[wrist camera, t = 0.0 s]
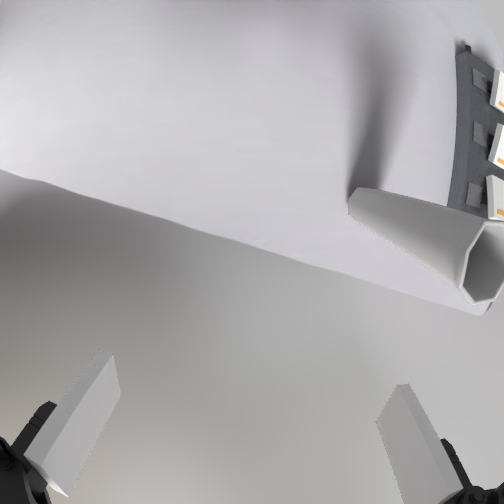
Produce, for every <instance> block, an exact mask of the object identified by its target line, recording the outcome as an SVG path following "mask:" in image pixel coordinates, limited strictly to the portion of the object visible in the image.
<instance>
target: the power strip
mask: <svg viewBox="0 0 504 504" xmlns="http://www.w3.org/2000/svg"><path fill="white" fill-rule="evenodd" d="M455 59H456V74H457V127H456V143H455V154H454V164H453V172H452V180H451V186H450V193H449V199H448V204H447V207H449V208H452V209H456V210H459V211H462V212H466V213H469V214H472V215H475V216H478V217H481V218H484V219H489V218H488V196H487V181H486V176H489V175H494V176H496V177H498V178H500V179H502V180H503V181H504V169H502V168H501V167H499V166H497V165H495V164H493V163H492V162H490V161H488V158H489V155H490V151H491V148H492V144H493V140H494V136H495V132H496V128H497V123H499V124H502V125H504V113H502V112H501V111H499V110H498V109H496V108H495V107H493V106H492V105H490V98H491V92H492V86H493V79H494V71H495V69H493V68H492V67H490V66H489V65H487V64H486V63H485V62H483V61H482V60H480V59H479V58H477V57H476V56H474V55H472V53H471V47H470V46H469V45H465V52H463V53H461V54H459V55H457V56H455Z"/></svg>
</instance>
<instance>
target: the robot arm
mask: <svg viewBox="0 0 504 504" xmlns="http://www.w3.org/2000/svg"><path fill="white" fill-rule="evenodd" d="M120 397H121V392H120V387H119V383H118V378H117V373H116V367H115V362H114V356H113V354H111V353H108V352H104V351H101V350H98V352H97V353H96V354H95V356H94V357H93V358H92V359H91V361H90V362H89V363H88V365H87V366H86V367H85V368H84V370H83V371H82V372H81V374H80V375H79V376H78V378H77V379H76V380H75V382H74V383H73V384H72V386H71V387H70V388H69V390H68V391H67V392H66V394H65V395H64V397H63V398H62V399H61V401H60V402H59V403H58V405H57V404H54V403H52V402H50V401H48V402H46V403H45V404H43V405H42V406H40V407H39V408H38V410H37V411H36V412H35V414H34V416H33V417H32V418H31V419H30V420H29V423H28V424H26V426H25V427H24V429H23V430H22V432H21V433H20V434H19V436H18V437H17V439H16V440H15V441H14V443H13V444H12V445H11V447H10V446H9V444H8V443H7V442H6V441H5V439H3V438H2V437H0V504H51V501H50V498H49V495H48V492H47V490H46V486H47V484H49V485H50V486H51V487H52V488H53V489H54V490H56V491H58V492H59V493H62V494H63V495H65V496H67V497H70V495H71V493H72V491H73V489H74V487H75V485H76V482H77V480H78V478H79V476H80V474H81V472H82V470H83V468H84V466H85V464H86V462H87V460H88V458H89V456H90V454H91V452H92V450H93V448H94V446H95V444H96V442H97V440H98V438H99V436H100V434H101V432H102V430H103V428H104V426H105V424H106V423H107V421H108V419H109V417H110V415H111V413H112V411H113V410H114V408H115V406H116V404H117V402H118V400H119V398H120ZM376 424H377V427H378V429H379V432H380V435H381V437H382V440H383V443H384V446H385V449H386V451H387V454H388V457H389V460H390V463H391V466H392V469H393V471H394V474H395V477H396V480H397V483H398V486H399V489H400V493H401V496H402V499H403V502H404V504H504V482H503V483H502V484H501V485H500V486H499V487H497V488H495V489H489V490H484V489H483V488H481V487H479V486H472V484H471V482H470V480H469V478H468V476H467V474H466V472H465V470H464V468H463V466H462V464H461V462H460V461H459V458H458V456H457V455H456V452H455V450H454V448H453V446H452V445H451V444H450V443H449V442H448V441H447V440H446V439H441V440H440V439H439V437H438V436H437V433H436V431H435V430H434V428H433V426H432V424H431V422H430V420H429V418H428V417H427V415H426V413H425V411H424V409H423V408H422V406H421V404H420V402H419V400H418V399H417V397H416V395H415V393H414V392H413V390H412V388H411V386H410V385H409V384H403V385H396V387H395V389H394V391H393V393H392V395H391V397H390V398H389V400H388V402H387V403H386V405H385V407H384V409H383V410H382V412H381V414H380V415H379V417H378V418H377V420H376Z"/></svg>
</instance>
